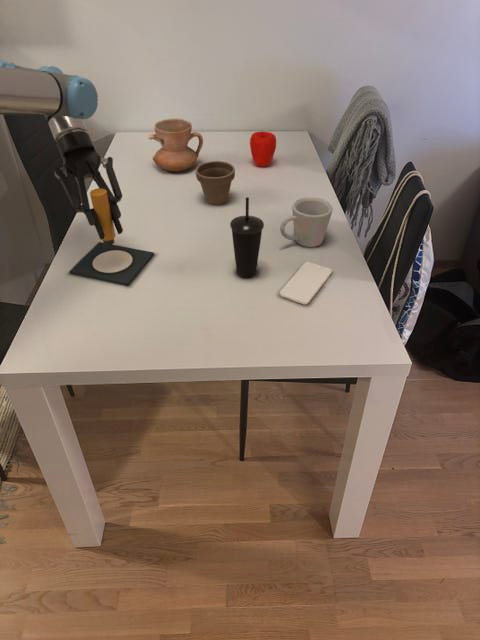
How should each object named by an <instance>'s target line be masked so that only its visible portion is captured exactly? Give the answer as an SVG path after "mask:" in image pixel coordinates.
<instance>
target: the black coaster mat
mask: <svg viewBox="0 0 480 640" xmlns="http://www.w3.org/2000/svg"><path fill="white" fill-rule="evenodd" d="M154 256H155V252H153V251H148V250H143V249H138V248H133V247H127V246H121V245H118V244H117V245H116V244H112V245H109V246H107V245H104V244H103V242H101V241H99V242H98V243H96V244H95V245H94V246H93V247H92V248H91V250H89V251H88V253H86V254H85V255H84V256H83V257H82V258H81V259H80V260H79V261H78V262H77V263H76V264H75V265H74V266H73V267H72V268H71V269H70V270H69V274H70V275H74V276H79V277H82V278H88V279H92V280H98V281H102V282H106V283H112V284H117V285H122V286H126V287H129V286H130V285H131V284H132V282H133V281H134V280H135V279H136V278H137V277H138V275H139V274H140V273H141V272H142V271H143V269H144V268H145V267H146V266H147V264H148V263H149V262H150V260H151V259H153V257H154Z"/></svg>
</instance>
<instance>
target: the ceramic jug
mask: <svg viewBox="0 0 480 640" xmlns="http://www.w3.org/2000/svg"><path fill="white" fill-rule="evenodd" d="M153 127H154V129H153V130H154V132H155V134H154V133H151V134H148V135H147V138H148V140H154V141H156V142H158V143H159V144H160V145H161V147H160V148H159V149H158V150H157V151H156V152H155V154H154V155H153V156H152V161H153V162H154V164H155V165H156V166H157V167H158V168H160V169H161V170H163V171H168V172H181V171H186V170H188V169H191V168H193V166H195V165H196V164H197V161H198V158H199V155H200V152H201V150H202V148H203V145H204V144H203V143H204V137H203V135H202V134H201V133H200V132H198V131H193V132H192V129H193V125H192V122H191V121H190V120H188V119H183V118H166V119H162V120H159V121H157V122H155V123H154V125H153ZM195 137H197V139H198V146H197V148H196V151H195V150H194V149H193V148H191V147H189V146H188V144H189V142H190V141H191V140H192V139H193V138H195Z"/></svg>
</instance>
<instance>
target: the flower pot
mask: <svg viewBox="0 0 480 640" xmlns="http://www.w3.org/2000/svg"><path fill="white" fill-rule="evenodd" d="M194 171H195V177H196V180H197V181H198V182H199V183H200V187H201V189H202V192H203V195H204V199H205V200H206V202H207V203H208V204H209V205H216V206H217V205H222V204H226V202H228V199H229V196H230V195H229V194H230V190H231V185H232V182H233V181H234V179H235V175H236V169H235V166H234V165H232V163H229V162H227V161H221V160H212V161H207V162H204V163H201V164H199V165H197V167H196V168H195V170H194Z"/></svg>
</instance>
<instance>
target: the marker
mask: <svg viewBox="0 0 480 640" xmlns="http://www.w3.org/2000/svg"><path fill="white" fill-rule="evenodd" d="M89 195H90V200H91V204H92V208H94V210H95V212H96V215H97V217H98V220H99V222H100V224H101V227H102V229H103V232H104V234H105V236H104V239H101V241H102V243H103V244H104V245H107V246H109V245H115V243H116V241H115V239H116V231H115V230H116V229H115V225H114V223H113V220H112V215H111V210H110V205H109V200H108V195H107V191H106V190H105V189H102V188H99V187H98V188H94V189H92V190H90V192H89Z"/></svg>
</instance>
